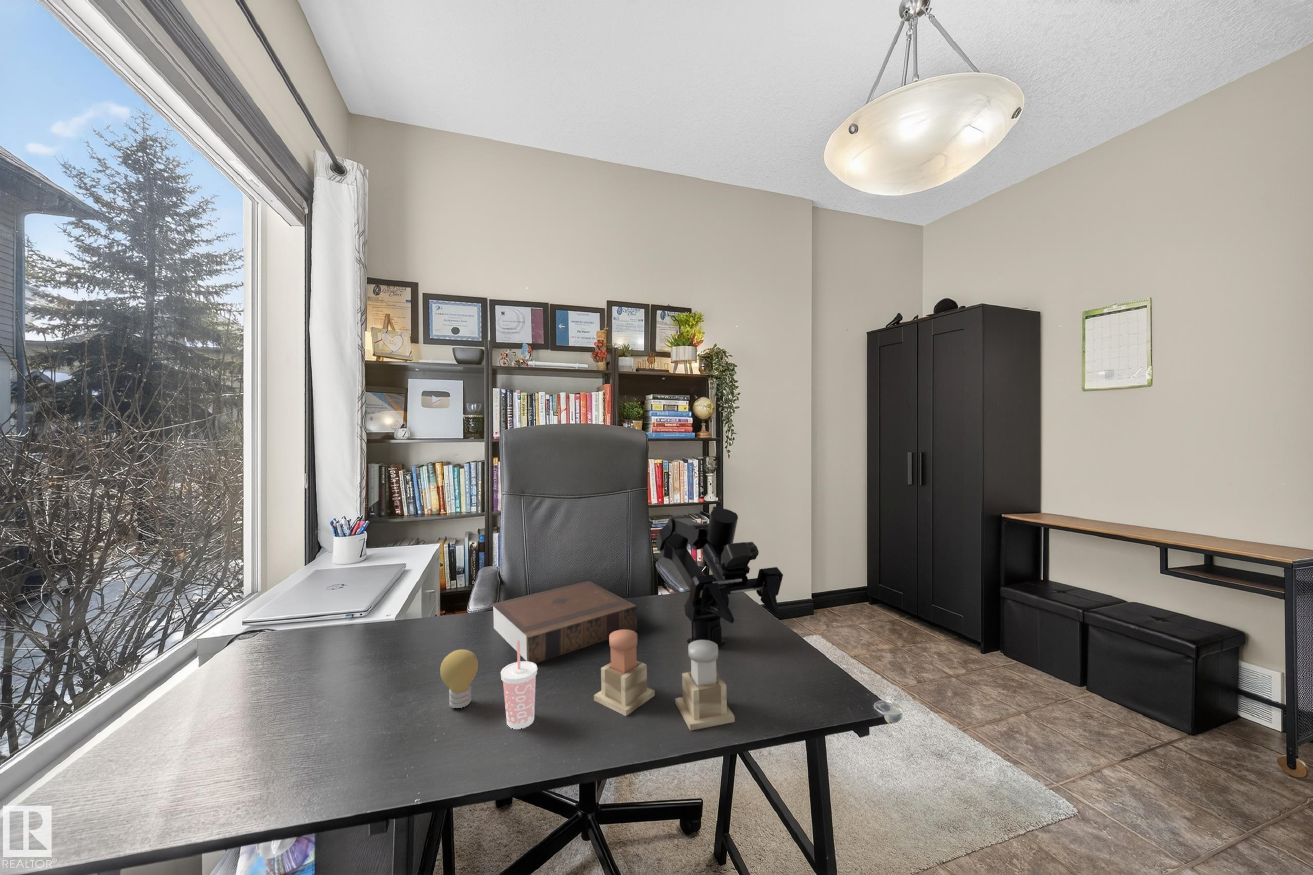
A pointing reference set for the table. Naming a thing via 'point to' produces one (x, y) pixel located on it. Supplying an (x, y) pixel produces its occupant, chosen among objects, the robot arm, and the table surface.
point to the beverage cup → (519, 692)
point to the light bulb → (459, 676)
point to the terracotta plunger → (623, 650)
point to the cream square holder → (624, 689)
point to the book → (562, 619)
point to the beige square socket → (704, 703)
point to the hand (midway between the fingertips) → (755, 617)
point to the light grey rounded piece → (703, 662)
